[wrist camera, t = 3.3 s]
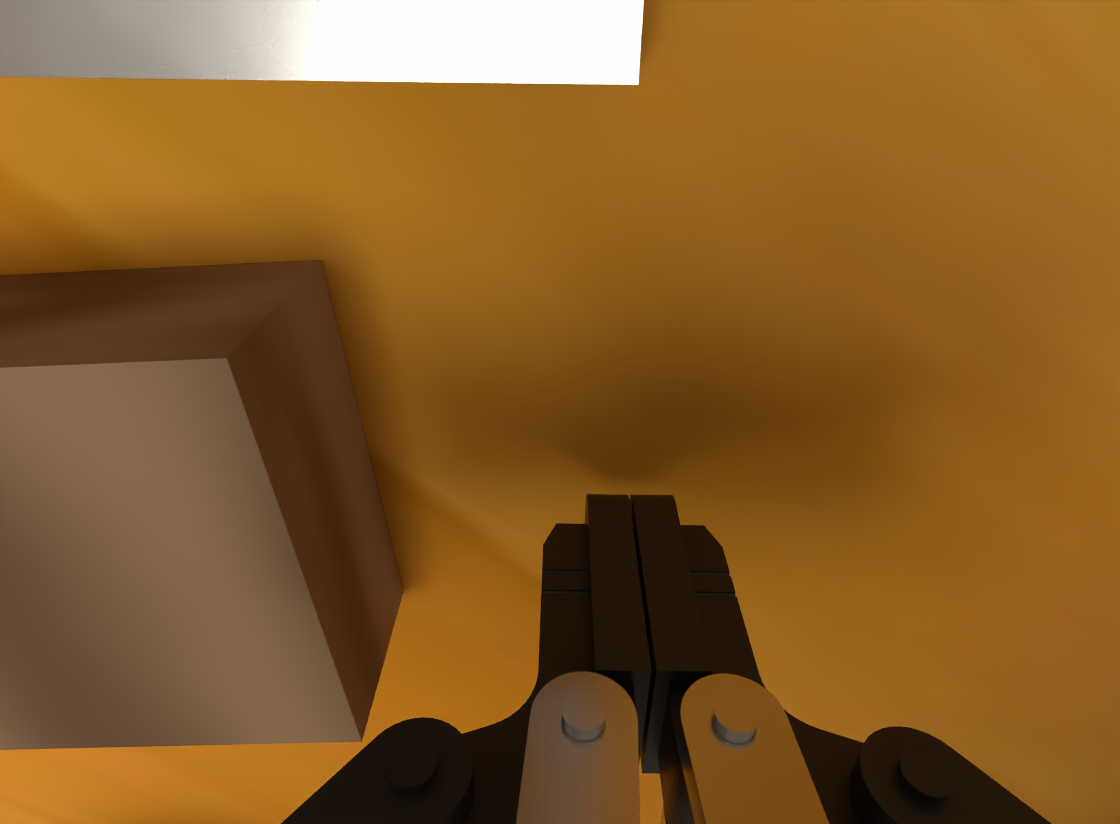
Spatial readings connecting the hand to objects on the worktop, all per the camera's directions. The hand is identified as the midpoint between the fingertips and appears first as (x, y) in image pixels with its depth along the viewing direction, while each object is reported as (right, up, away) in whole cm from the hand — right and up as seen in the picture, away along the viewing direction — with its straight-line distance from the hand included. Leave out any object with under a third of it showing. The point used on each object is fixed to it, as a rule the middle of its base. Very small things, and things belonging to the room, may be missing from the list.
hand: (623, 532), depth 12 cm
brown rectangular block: (-10, +1, +2) cm, 10 cm away
